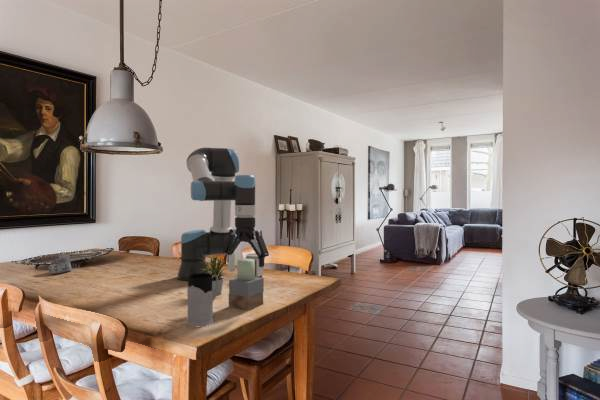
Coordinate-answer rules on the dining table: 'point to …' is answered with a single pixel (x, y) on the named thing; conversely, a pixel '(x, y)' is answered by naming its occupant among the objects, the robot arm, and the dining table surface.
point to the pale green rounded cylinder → (246, 269)
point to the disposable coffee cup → (254, 256)
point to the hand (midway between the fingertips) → (245, 273)
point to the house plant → (215, 272)
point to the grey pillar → (200, 299)
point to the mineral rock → (60, 264)
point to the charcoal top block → (246, 287)
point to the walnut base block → (245, 301)
